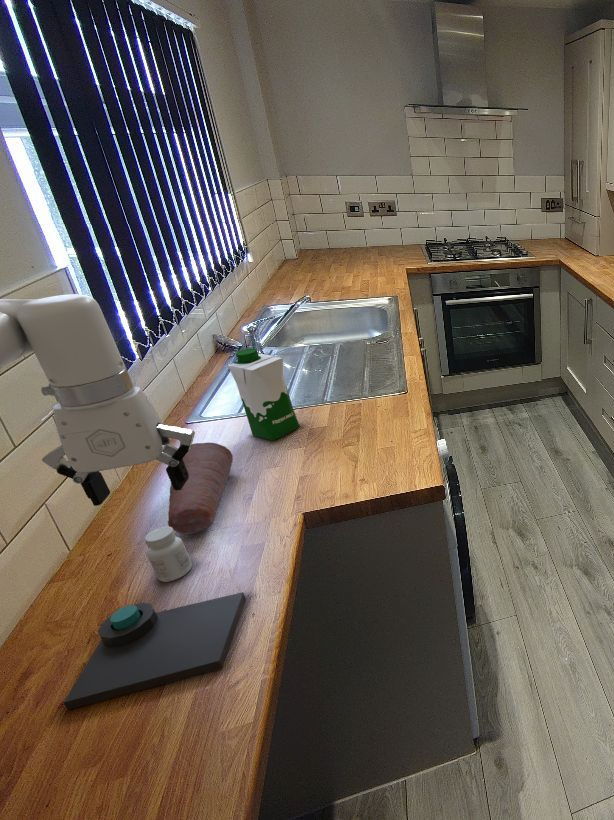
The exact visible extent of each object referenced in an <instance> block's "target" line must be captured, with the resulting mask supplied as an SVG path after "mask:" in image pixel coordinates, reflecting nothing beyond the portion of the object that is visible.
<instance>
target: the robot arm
mask: <svg viewBox="0 0 614 820" xmlns="http://www.w3.org/2000/svg"><path fill="white" fill-rule="evenodd" d="M32 352H33V354H34V355H35V357H36V359H37V361H38V363H39V365H40V367H41V369H42V370H43V373H44V375H45V377H46V379H47V381H48V383H49V384H48V385H42V387H41V388H40V391H41V394H42V395H43V396H44V397H48V396H52V397H54V398H55V400H56V402H57V403H56V404H55V405H54V406H53V407H52V411H53V417H54V423H55V427H56V432H57V434H58V438H59V441H60V444H61V445H59V446H57V447H56V448H54V449H52V450H50V451H49V452H48V453H47V454H45V455H44V456H43V457H42V458H41V461H42V462H43V463H44V464H46V466H49V468H51V469H53V470H56V472H57V474H59V475H61V476H64V477H66V478H69V479H72V481H73V483H75V484H80V485H81V487H82V489H83V492H84V494H85V495H86V497H87V499H90V501H91V503H92V505H93V506H94V507H97V506H101V505H102V504H103V503H104V502H105V500H106V499H107V498H108V497H109V496H110V494H111V490H110V488H109V486H108V484H107V482H106V480H105V478H104V475H103V474H102V471H108V470H109V471H110V470H114V469H120V468H125V467H131V466H138V465H142V464H148V463H151V462H154V461H156V460H157V461H159V462H161V463H163V464H165V465H166V466H167V467H166V468H165V473H166V474H167V476H168V478H169V481H170V485H171V484H172V486H173V488H174V490H176V491H177V490H181V489H182V487H183V486H184V484H185V483H186V481H187V480H188V478H189V474H188V471H187V469H186V466H185V464H184V462H183V457H184V456H185V455H186V454H187V452H188V451H189V449H190V448H191V446H192V444H193V442H194V439H195V438H194V437H195V435H196V432H195V431H194V430H193V429H188V428H183V427H179V426H172V425H167V424H164V422H163V420H162V418H161V416H160V414H159V413H158V412H157V411H158V410H157V409H156V408H155V406H154V405H153V403H152V402H151V401H150V399H149V398H148V396H147V395H146V393H145V392H144V391H143V390H142V388H141V387H140V386H134V383H133V381H132V379H131V376H130V374H129V372H128V369H127V367H126V365H125V363H124V360H123V357H122V356H121V353H120V351H119V349H118V346H117V343H116V342H115V339H114V337H113V334H112V332H111V330H110V327H109V325H108V322H107V320H106V318H105V316H104V313H103V311H102V308H101V306H100V305H99V303H98V302H97V300H96V299H95V298H93V297H92V296H90V295H87V294H81V293H79V294H78V293H68V294H60V295H53V296H52V295H51V296H46V297H41V298H37V299H19V298H18V299H14V298H13V299H12V298H11V299H10V298H9V299H7V298H0V370H1V369H3V368H4V367H6V366H7V365H8V364H10V363H11V362H13V361H16V360H18V359H21V358H23V357H24V356H26V355H28V354H30V353H32ZM171 439H174V440H177V441H179V447H176V446H174V445H172V444H171V443H170V442H171ZM64 456H66V457H64Z"/></svg>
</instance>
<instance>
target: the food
mask: <svg viewBox="0 0 614 820" xmlns="http://www.w3.org/2000/svg"><path fill="white" fill-rule="evenodd" d="M233 457H234V456H233V454H232V451H231V450H230V449H229V448H228V447H226V446H224V445H222V444H220V443H217V442H196V443H192V446H191V448H190V449H189V451H188V452H187V454H186V455H185V456H184V457H183V462H184V464H185V466H186V469H187V471H188V474H189V478H188V480H187V481H186V483H185V484H184V486H183V487H182V489H181V490H177V491H176V490H174V488H173V486H172V484H171V483H170V487H169V503H168V504H169V505H168V513H167V515H168V516H167V517H168V518H167V519H168V520H167V525H168V527H172V528H173V530H174V532H175V533H178V534H182V535H192V534H193V535H194V534H197V533H199V532H201V531H203V530H205V529H206V528H208V527H210V526H212V525H213V523H214V520H215V516H216V515H217V514H216V513H217V511H218V509H219V505H220V502H221V499H222V495H223V494H224V493H223V492H224V490H225V489H226V488H225V487H226V485H227V482H228V480H229V479H228V478H229V475H230V472H231V468H232V465H233V461H234V460H233V459H234V458H233Z"/></svg>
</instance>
